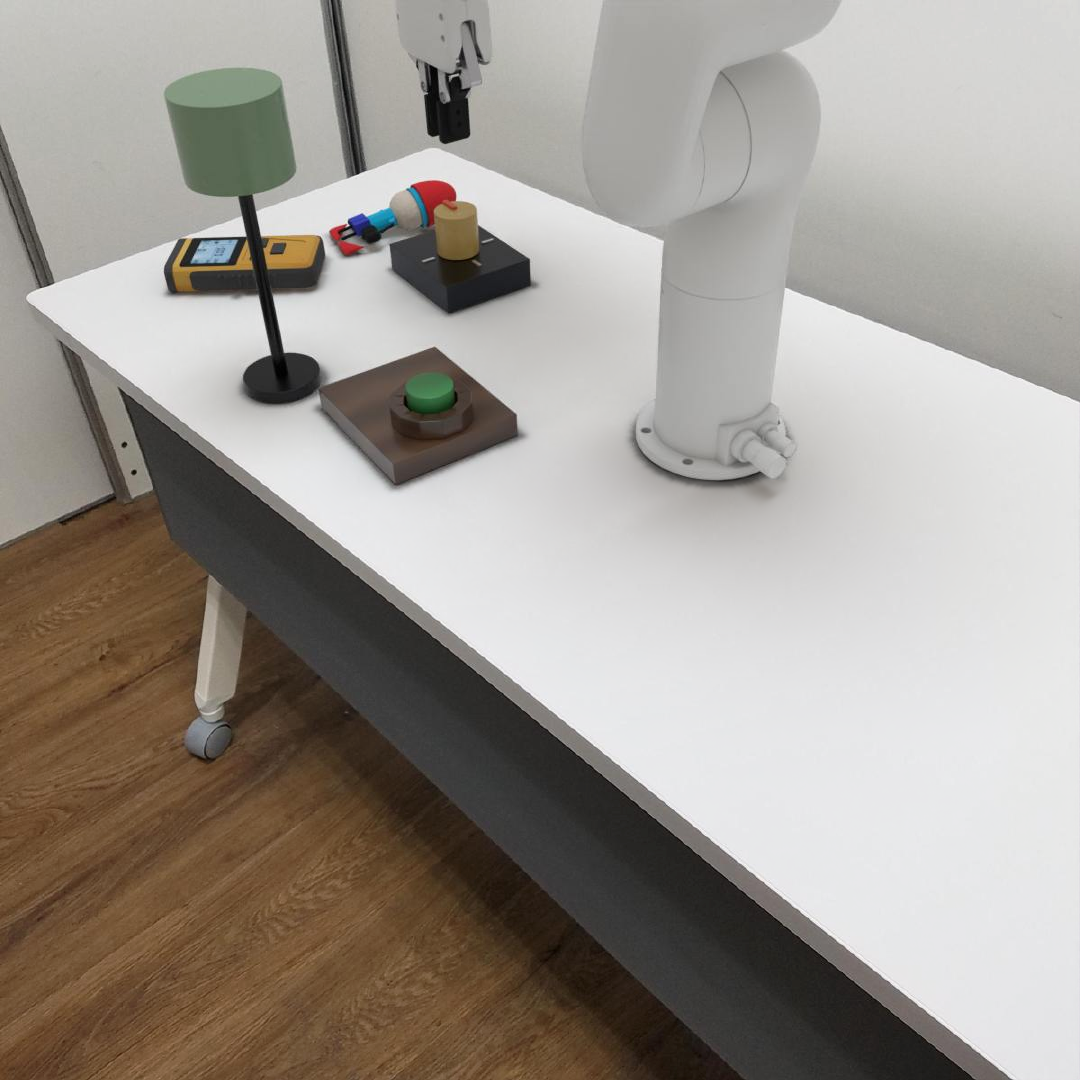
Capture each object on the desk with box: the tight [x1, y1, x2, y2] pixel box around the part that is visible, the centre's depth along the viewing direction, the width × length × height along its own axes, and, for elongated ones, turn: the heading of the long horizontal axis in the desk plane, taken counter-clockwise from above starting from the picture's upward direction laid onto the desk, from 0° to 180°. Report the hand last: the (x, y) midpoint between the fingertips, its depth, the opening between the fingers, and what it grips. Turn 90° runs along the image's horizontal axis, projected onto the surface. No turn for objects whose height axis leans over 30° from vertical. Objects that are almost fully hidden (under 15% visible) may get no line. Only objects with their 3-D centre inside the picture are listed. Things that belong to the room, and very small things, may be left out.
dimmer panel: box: [388, 224, 532, 314], centre depth 119 cm, size 12×10×3 cm
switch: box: [405, 373, 455, 414], centre depth 95 cm, size 4×4×2 cm
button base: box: [317, 346, 519, 485], centre depth 99 cm, size 14×12×4 cm
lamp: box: [163, 67, 322, 405], centre depth 97 cm, size 9×9×27 cm
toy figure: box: [328, 179, 458, 256], centre depth 128 cm, size 8×5×15 cm
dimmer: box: [434, 200, 479, 260], centre depth 117 cm, size 4×4×5 cm
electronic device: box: [163, 234, 326, 293], centre depth 121 cm, size 8×16×3 cm, turn 90°
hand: (449, 135), depth 111 cm, fingers closed
